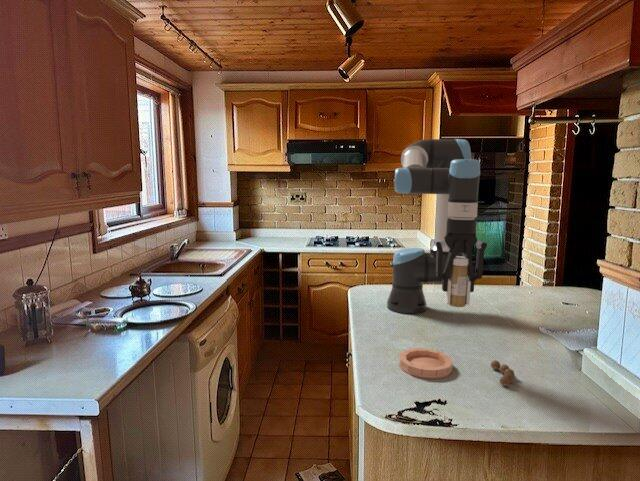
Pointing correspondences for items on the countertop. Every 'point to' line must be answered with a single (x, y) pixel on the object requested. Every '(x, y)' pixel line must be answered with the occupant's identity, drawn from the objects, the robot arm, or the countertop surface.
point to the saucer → (425, 363)
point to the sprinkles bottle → (458, 281)
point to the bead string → (506, 371)
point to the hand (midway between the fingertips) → (456, 302)
